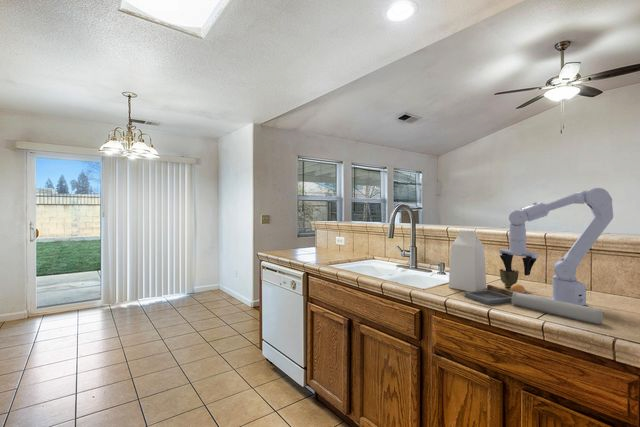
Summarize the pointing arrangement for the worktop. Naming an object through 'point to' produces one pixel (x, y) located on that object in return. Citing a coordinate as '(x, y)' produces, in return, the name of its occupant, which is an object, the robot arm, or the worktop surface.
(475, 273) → the milk
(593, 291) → the worktop surface
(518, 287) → the egg
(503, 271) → the cup
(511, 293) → the fence
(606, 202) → the robot arm
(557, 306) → the tube
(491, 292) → the tray
